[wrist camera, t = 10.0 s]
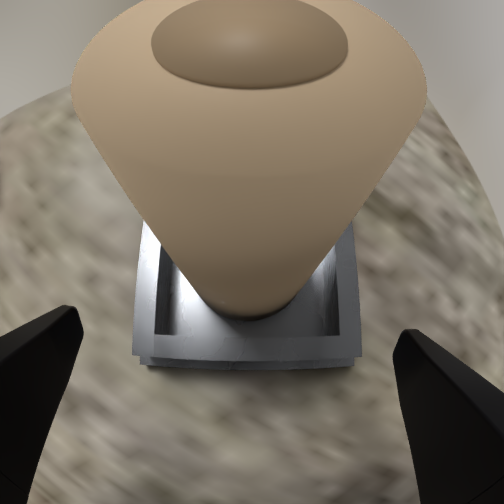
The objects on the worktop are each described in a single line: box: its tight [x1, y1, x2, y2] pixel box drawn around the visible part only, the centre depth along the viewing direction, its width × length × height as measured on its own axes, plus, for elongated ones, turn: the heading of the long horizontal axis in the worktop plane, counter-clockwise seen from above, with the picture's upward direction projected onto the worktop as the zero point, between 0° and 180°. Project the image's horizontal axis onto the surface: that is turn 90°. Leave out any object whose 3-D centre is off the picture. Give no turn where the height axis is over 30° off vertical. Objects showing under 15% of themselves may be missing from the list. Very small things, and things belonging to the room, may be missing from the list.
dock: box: [132, 221, 362, 370], centre depth 16 cm, size 11×11×4 cm
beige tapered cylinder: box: [71, 0, 427, 321], centre depth 10 cm, size 6×6×13 cm
